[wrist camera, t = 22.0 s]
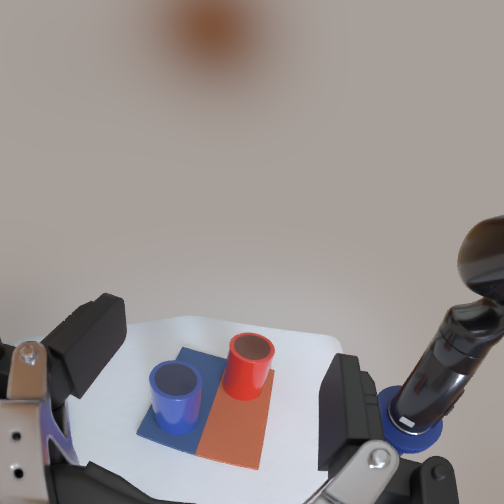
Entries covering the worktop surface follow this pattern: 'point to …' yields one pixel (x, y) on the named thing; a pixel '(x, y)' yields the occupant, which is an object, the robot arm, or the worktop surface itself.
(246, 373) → the red beaker
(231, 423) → the sorting mat
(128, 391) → the worktop surface
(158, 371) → the blue beaker
